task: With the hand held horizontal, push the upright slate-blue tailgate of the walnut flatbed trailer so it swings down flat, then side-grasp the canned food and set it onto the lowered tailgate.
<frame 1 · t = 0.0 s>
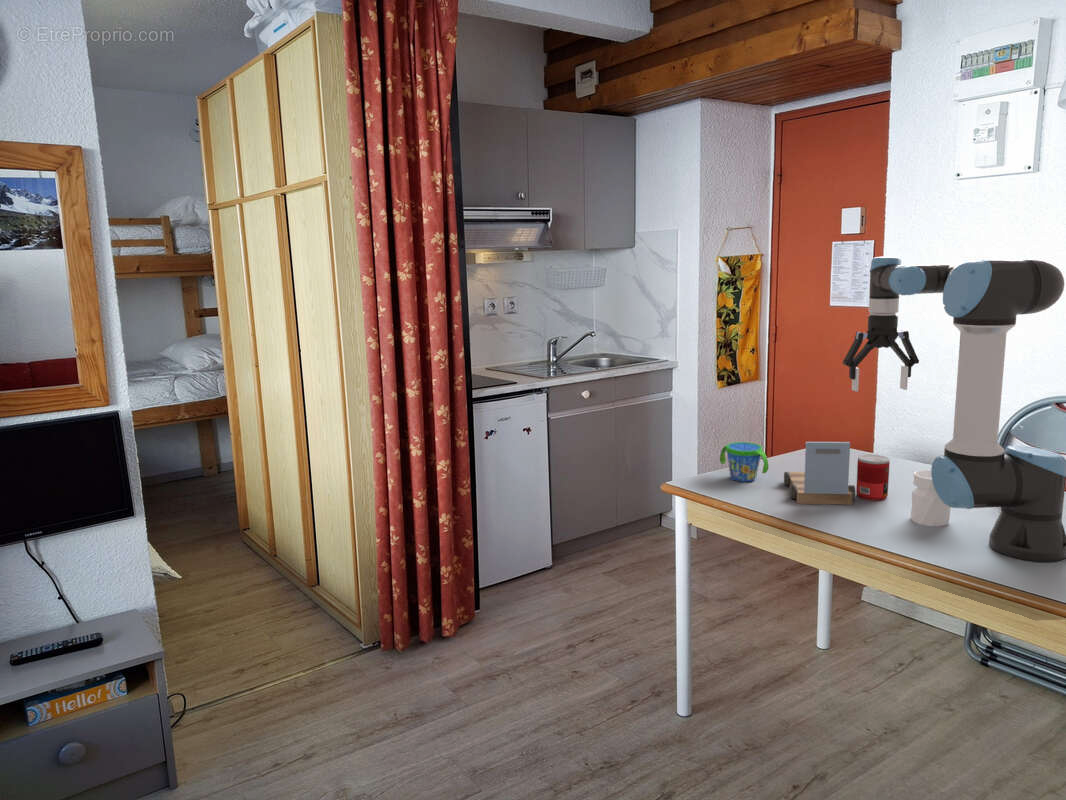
hand: (879, 389, 220), 28 cm above the table, tool pointing down, fingers open, 13 cm apart
flatbed: (818, 492, 222), on the table
canned food: (871, 497, 217), on the table
vase: (929, 521, 197), on the table
soda can: (1013, 504, 207), on the table
tailgate: (826, 468, 209), point 10 cm above the table, hinge at 0.0°
snack cup: (743, 479, 236), on the table
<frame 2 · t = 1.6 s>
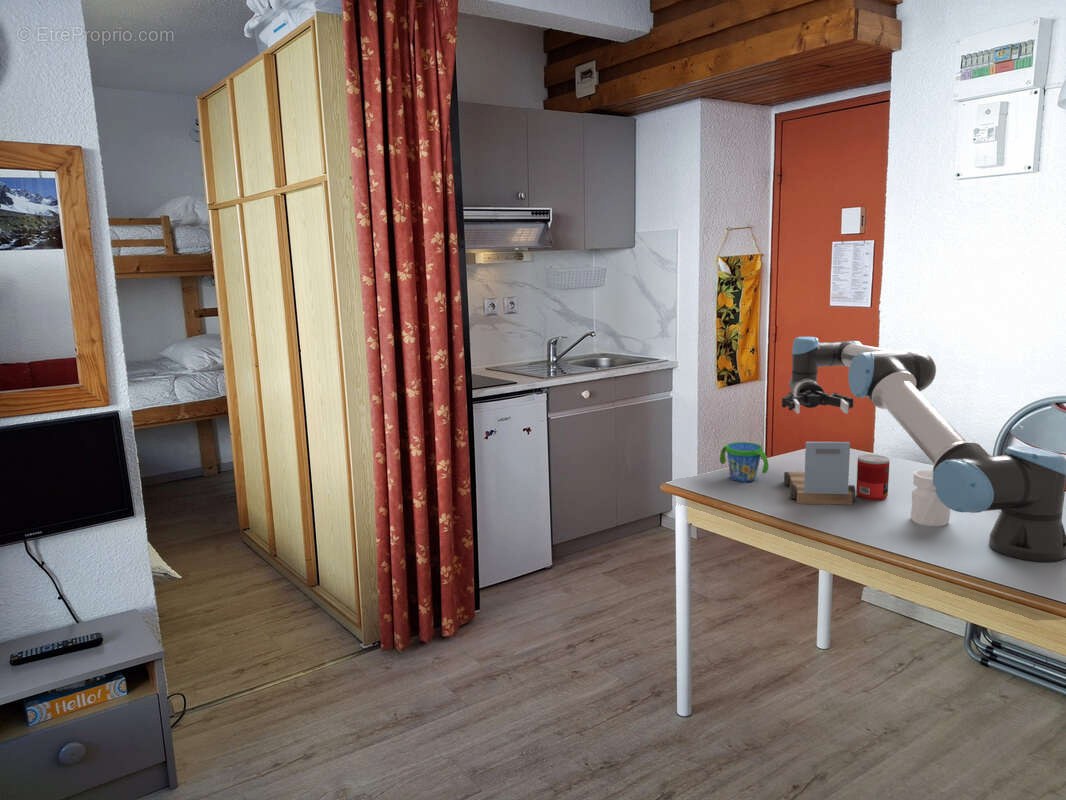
hand: (822, 408, 215), 24 cm above the table, tool horizontal, fingers open, 12 cm apart
nothing on the table moved.
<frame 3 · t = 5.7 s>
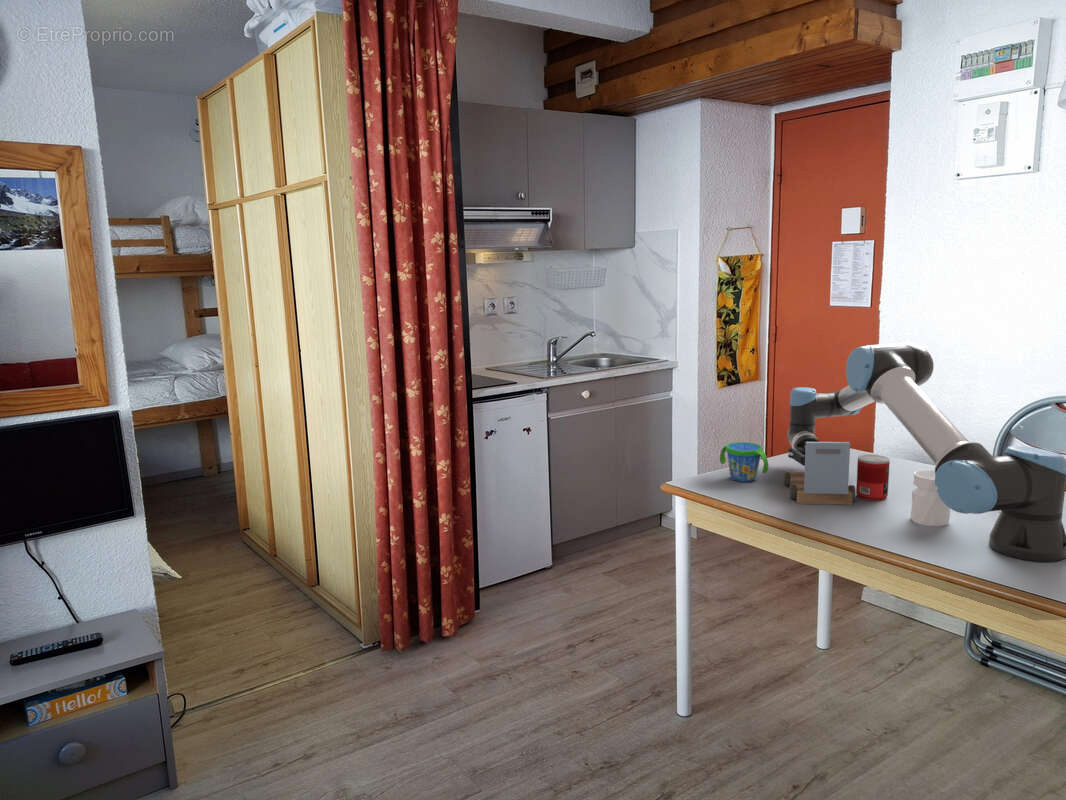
hand: (821, 469, 210), 10 cm above the table, tool horizontal, fingers closed
tailgate: (826, 468, 209), point 10 cm above the table, hinge at 0.3°, touching gripper
everything else where it was.
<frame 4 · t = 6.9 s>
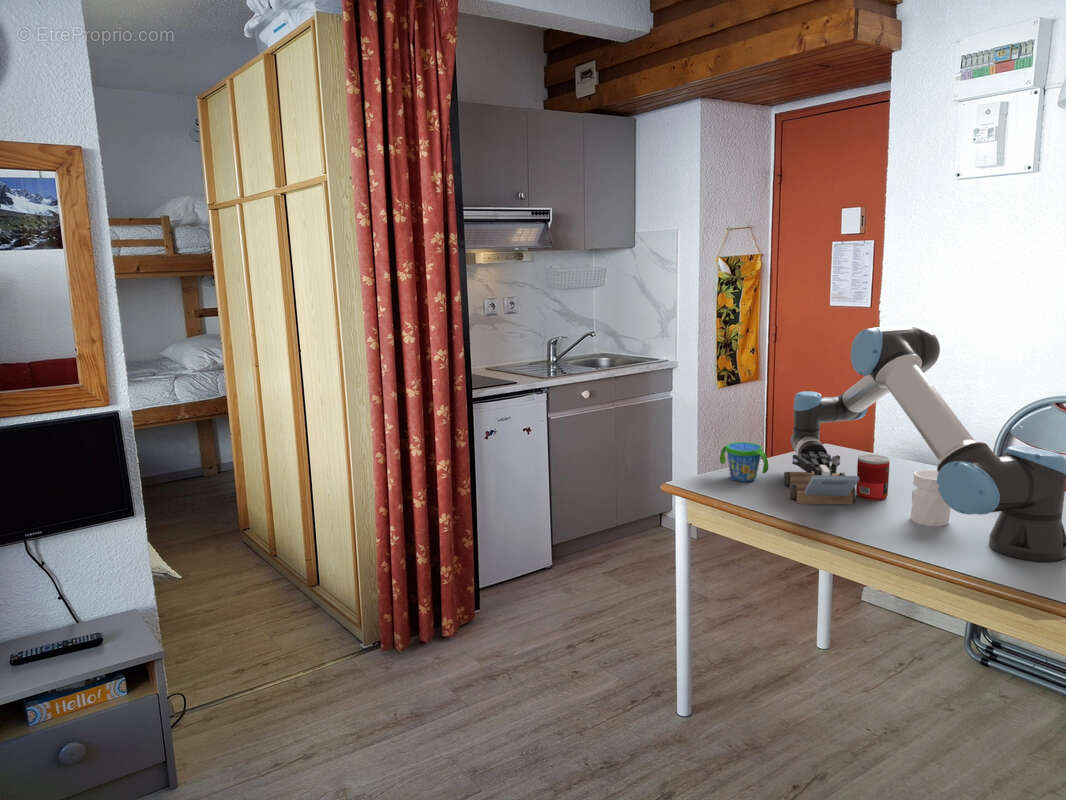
hand: (827, 476, 203), 10 cm above the table, tool horizontal, fingers closed
tailgate: (830, 486, 204), point 7 cm above the table, hinge at 55.2°, touching gripper
everything else where it was.
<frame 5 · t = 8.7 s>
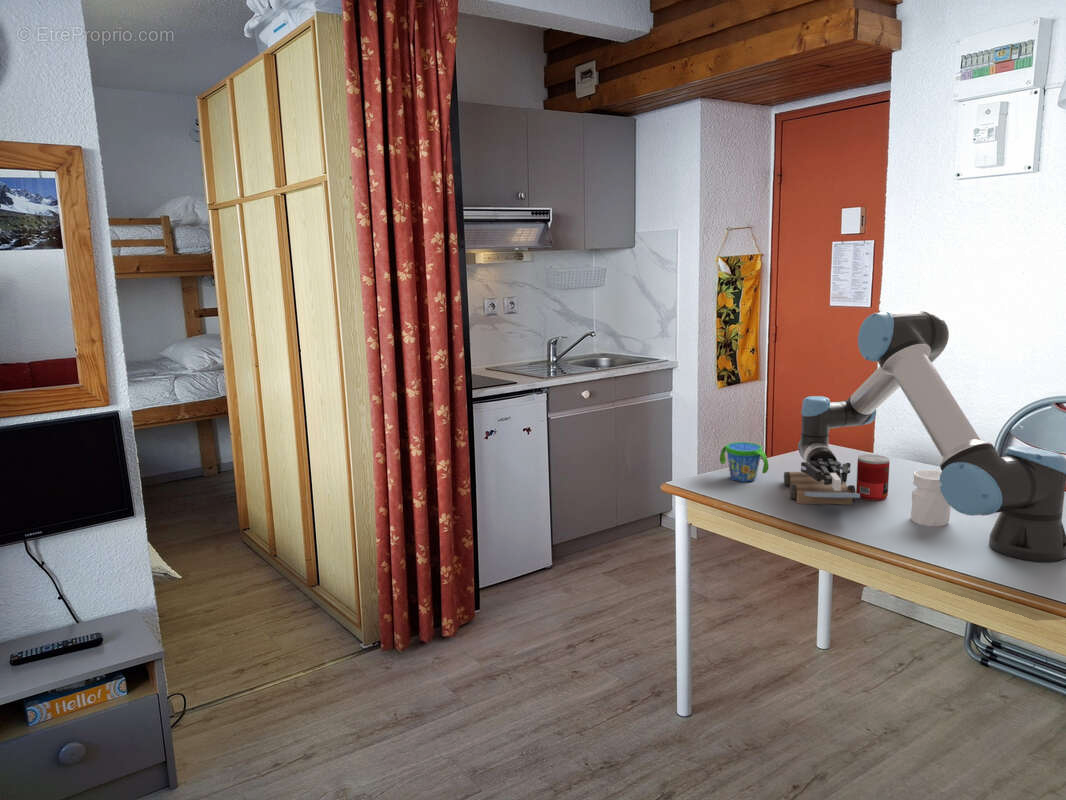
hand: (837, 485, 195), 10 cm above the table, tool horizontal, fingers closed
tailgate: (831, 495, 203), point 5 cm above the table, hinge at 73.0°
everything else where it was.
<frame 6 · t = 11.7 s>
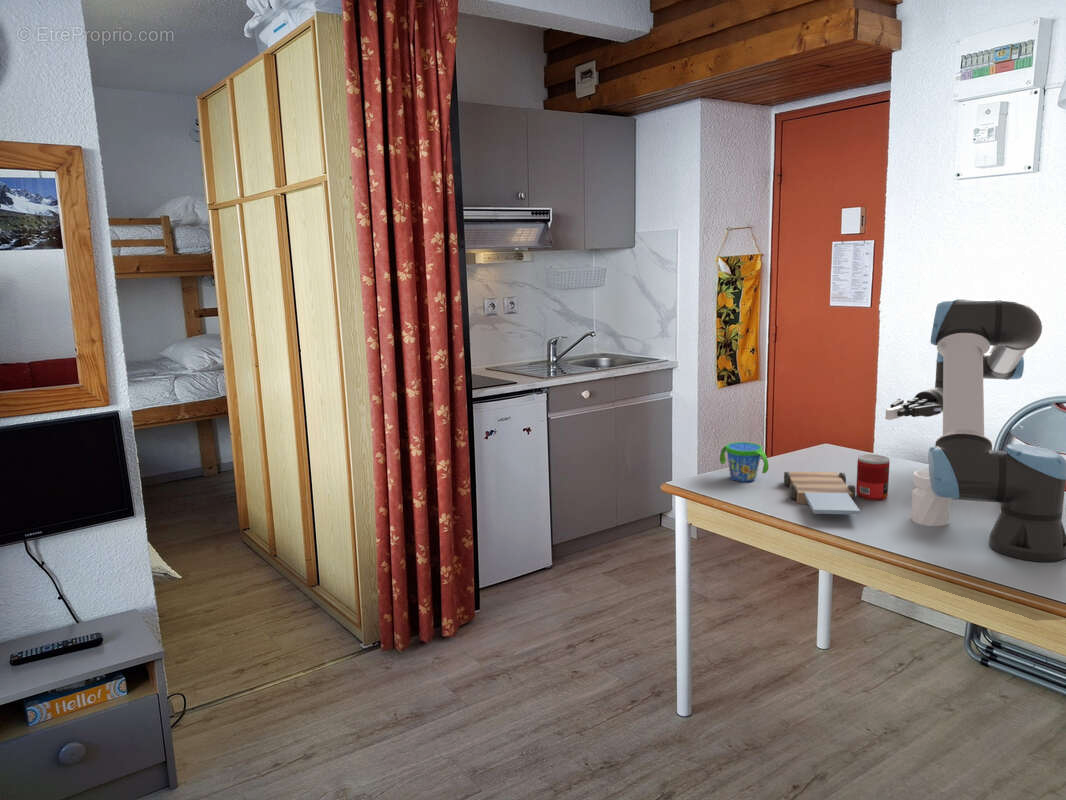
hand: (888, 414, 216), 22 cm above the table, tool horizontal, fingers closed
tailgate: (831, 503, 204), point 3 cm above the table, hinge at 90.1°
everything else where it was.
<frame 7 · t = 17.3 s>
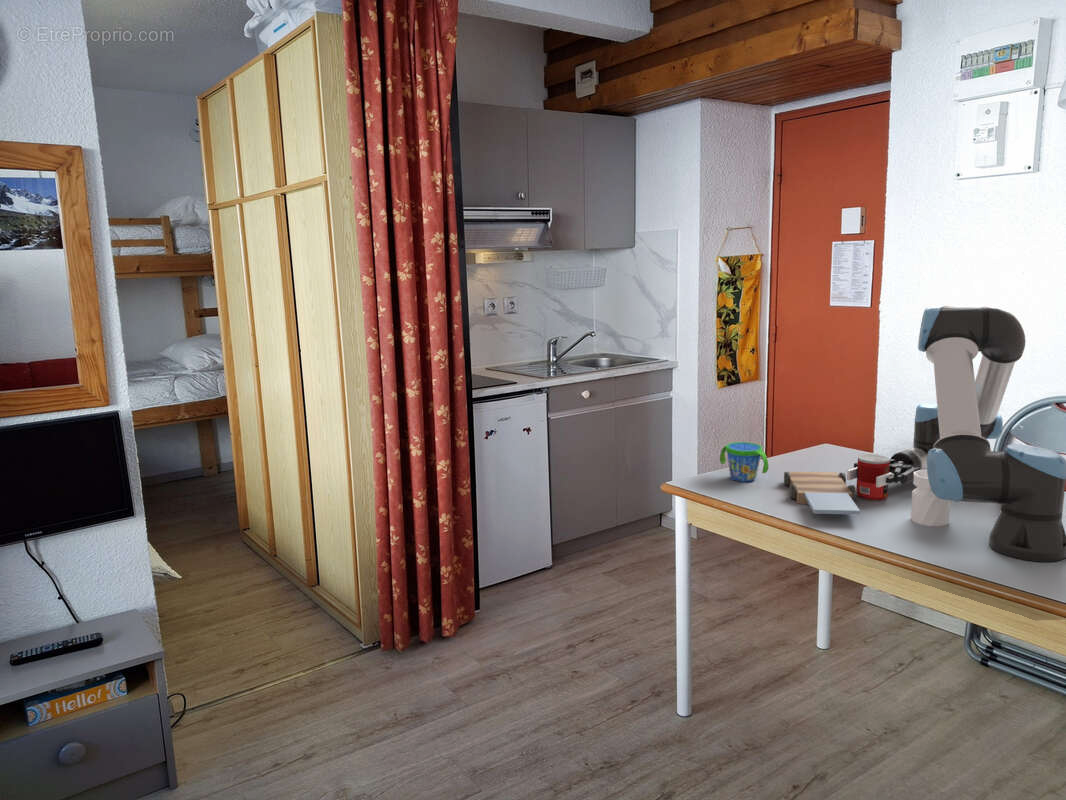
hand: (862, 478, 213), 6 cm above the table, tool horizontal, fingers closed on canned food, 8 cm apart
canned food: (871, 497, 217), on the table, touching gripper
everything else where it was.
when the fingers open (11 cm above the table, at t = 22.3 s): canned food drops 1 cm, resting on tailgate.
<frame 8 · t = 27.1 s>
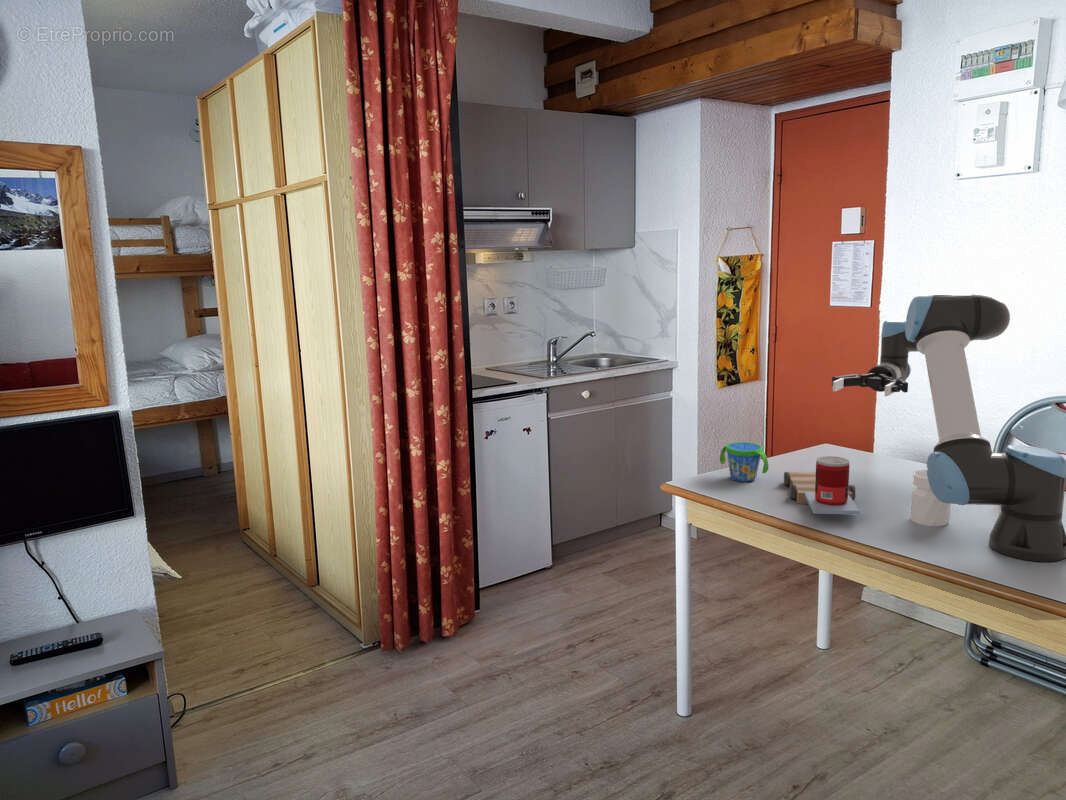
hand: (859, 388, 212), 30 cm above the table, tool horizontal, fingers open, 13 cm apart
canned food: (831, 501, 204), point 3 cm above the table, touching tailgate
tailgate: (831, 503, 204), point 3 cm above the table, hinge at 90.2°, touching canned food
everything else where it was.
at the end: tailgate at +90° (first picture: +0°); canned food inside the target area (0.3 cm from its centre), point 3.3 cm above the table; canned food touching tailgate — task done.
